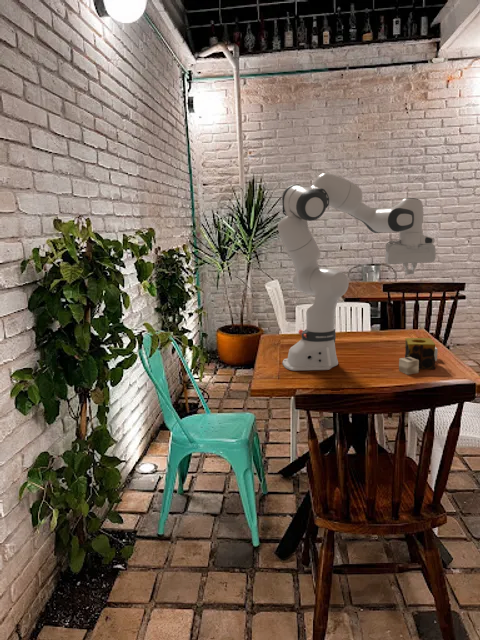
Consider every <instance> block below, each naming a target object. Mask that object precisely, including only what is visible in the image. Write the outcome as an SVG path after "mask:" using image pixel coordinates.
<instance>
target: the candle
mask: <svg viewBox="0 0 480 640" xmlns="http://www.w3.org/2000/svg"><path fill="white" fill-rule="evenodd" d="M404 340H405V341H404V342H405V344H404V346H405V347H404V348H405V350H404V351H405V353H404V358H406V357H412V358H415V359H417V360H419V370H435V369H436V361H435V356H434V354H435V353H434V352H435V347H436V343H435V342H434V341H433V339H432V338H429V337H428V338H426V337H406V338H404Z"/></svg>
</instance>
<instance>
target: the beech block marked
mask: <svg viewBox="0 0 480 640" xmlns="http://www.w3.org/2000/svg"><path fill="white" fill-rule="evenodd" d="M419 370H420V369H419V360H417V359H415V358H412V357H406V358H405V357H400V358H399V359H398V372H400V373H402V374H405V375H407V376H409V375H412V374H419V372H420V371H419Z"/></svg>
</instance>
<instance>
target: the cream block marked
mask: <svg viewBox="0 0 480 640" xmlns="http://www.w3.org/2000/svg"><path fill="white" fill-rule="evenodd" d="M434 353H435V354H434V356H435V362H437V361H438V353H439V351H438V348H437V347H436V346H435V352H434Z"/></svg>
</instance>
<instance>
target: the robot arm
mask: <svg viewBox="0 0 480 640" xmlns="http://www.w3.org/2000/svg"><path fill="white" fill-rule="evenodd" d="M281 197H282V198H281V204H282V213H283V215H284V217H282V218H281V219H280V221H279V222H278V224H277V230H278V231H277V232H278V234H279V238H280V240H281V242H282V245H283V247H284V248H285V250H286V253H287V254H288V256H289V258H290V259H291V262H292V264H293V267H294V269H295V272H294V274H293V276H292V277H293V278H292V283H293V284H292V285H293V287H294V288H295V290H297V291H298V292H301V293H303V294H306V295H310V296H311V295H312V296H314V300H313V304H312V305H311V306H310V307H308V308H307V310H306V311H305V312H306V316H305V318H306V319H305V321H306V322H305V324H306V329H305V330H303V329H298V334H299V336H301V339H300V340H299V341H297V342H296V343H295V344H294V345H292V346H291V347H290V348H289V349H288V354H287V358H284V359H283V360H282V366H283V367H284V368H285V369H286V370H290V371H328V370H331V369H332V368H334V367H336V366H338V364H339V361H338V360H339V359H338V357H337V352H336V344H335V343H336V340H337V339H336V337H337V335H336V329H335V313H336V308H337V305H338V302H339V300H341V297H343V296H344V295H345V294H346V293H347V291H348V290H349V278H348V276H347V274H346V273H345V272H343V271H341V270H339V269H335V268H325V267H321V266H320V265H319V264H318V260H319V258H320V256H321V250H320V248H319V245H318V244H317V242H316V240H315V238H314V236H313V234H312V232H311V231H310V229H309V226H308V225H309V224H308V221H316V220H318V219H320V218H321V217H322V216H323V215H324V213H325V212H326V209H327V208H328V207H330V208H333V209H335V210H337V211H339V212H342V213H345V214H347V215H349V216H351V217H352V218H355V219H357V221H358V220H359V221H360V222H362V224H364V225H365V226H366V228H367V229H368V230H369V231H370V232H371V233H374V234H381V233H399V234H398V235H399V237H398V240H389V241H388V242H386V244H385V255H384V263H386V264H387V265H400V264H402V267H403V268H404V271H405V272H404V274H405V275H415V269H416V268H417V266H418V264H419V263H420V264H421V263H434V262H435V261H436V255H437V253H436V251H437V250H436V246H435V241H436V240H435V238H434V237H430V236H427V235H425V234H424V233H423V232H424V230H423V223H424V205H423V201H422V200H420V199H419V198H413V197H405V198H403V199H401V201H400V202H398V203H397V204H396V205H394V206H392V207H374V208H373V207H370V206H369V205H367V204H365V203H363V202H362V201H363V191H362V188H360V186H358V184H355V183H354V182H353V181H350V180H348V179H347V178H345V177H342V176H339V175H336V174H335V173H334V174H333V173H330V172H329V173H328V172H323V173H321V174H319V175H318V176H317V177H316V178H315V180H314V182H313V184H312V185H311V186H307V185H301V184H292V185H289V186H287V187H286V188H285V189H284V191H283V193H282V196H281ZM409 264H411V268H410V269H409V268H408V267H409Z"/></svg>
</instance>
